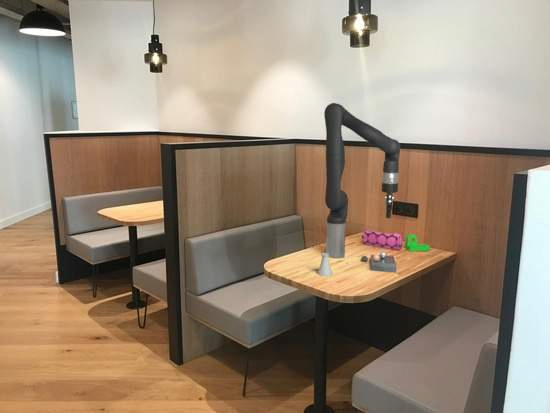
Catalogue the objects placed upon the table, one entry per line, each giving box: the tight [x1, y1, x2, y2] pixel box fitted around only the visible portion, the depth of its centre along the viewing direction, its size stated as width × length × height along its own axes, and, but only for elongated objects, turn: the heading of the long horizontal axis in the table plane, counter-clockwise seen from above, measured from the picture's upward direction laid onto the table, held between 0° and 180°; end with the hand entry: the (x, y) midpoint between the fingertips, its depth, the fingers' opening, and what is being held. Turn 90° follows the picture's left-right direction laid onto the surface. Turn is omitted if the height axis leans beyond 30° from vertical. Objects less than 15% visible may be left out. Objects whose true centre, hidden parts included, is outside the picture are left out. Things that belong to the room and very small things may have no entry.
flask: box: [316, 252, 333, 277], centre depth 193 cm, size 7×7×10 cm
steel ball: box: [379, 251, 388, 258], centre depth 212 cm, size 3×3×3 cm
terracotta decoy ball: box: [373, 254, 380, 261], centre depth 206 cm, size 3×3×3 cm
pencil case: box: [361, 227, 403, 251], centre depth 240 cm, size 21×10×10 cm, turn 58°
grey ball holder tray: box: [370, 254, 398, 273], centre depth 208 cm, size 11×18×4 cm, turn 169°
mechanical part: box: [405, 233, 431, 252], centre depth 237 cm, size 12×6×8 cm, turn 97°
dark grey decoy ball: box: [360, 255, 369, 263], centre depth 213 cm, size 3×3×3 cm
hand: (388, 217), depth 209 cm, fingers closed
